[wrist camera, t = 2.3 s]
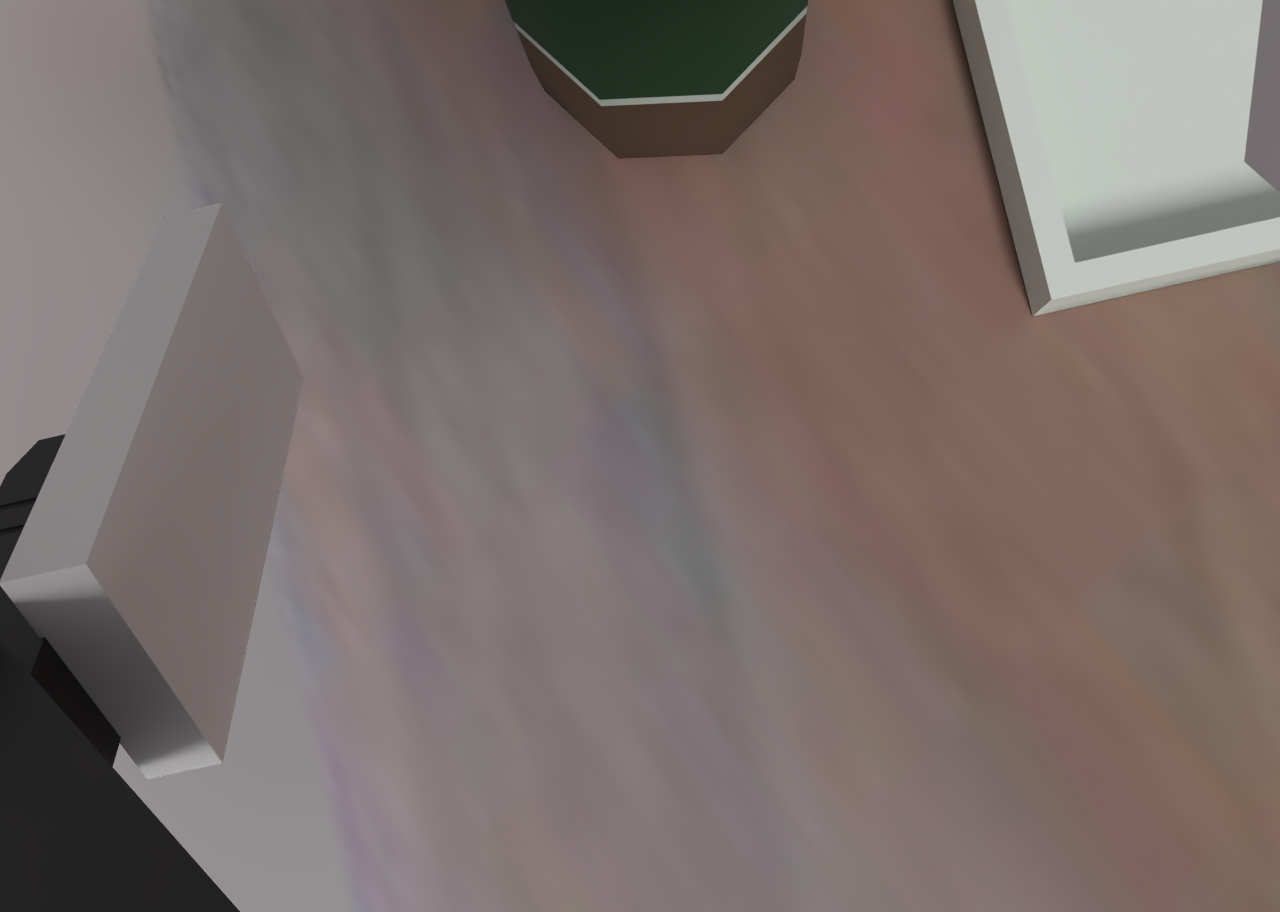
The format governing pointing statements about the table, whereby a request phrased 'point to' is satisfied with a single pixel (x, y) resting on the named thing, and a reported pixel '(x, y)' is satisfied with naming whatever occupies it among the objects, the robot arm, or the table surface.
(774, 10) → the beer bottle
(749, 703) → the table surface
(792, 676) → the table surface
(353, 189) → the table surface
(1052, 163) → the tray
